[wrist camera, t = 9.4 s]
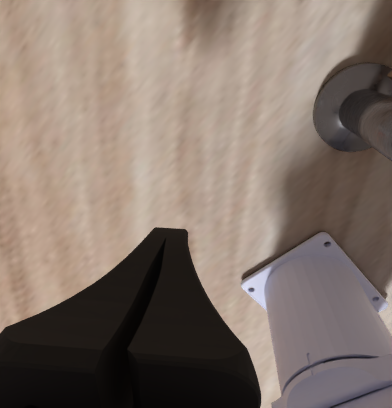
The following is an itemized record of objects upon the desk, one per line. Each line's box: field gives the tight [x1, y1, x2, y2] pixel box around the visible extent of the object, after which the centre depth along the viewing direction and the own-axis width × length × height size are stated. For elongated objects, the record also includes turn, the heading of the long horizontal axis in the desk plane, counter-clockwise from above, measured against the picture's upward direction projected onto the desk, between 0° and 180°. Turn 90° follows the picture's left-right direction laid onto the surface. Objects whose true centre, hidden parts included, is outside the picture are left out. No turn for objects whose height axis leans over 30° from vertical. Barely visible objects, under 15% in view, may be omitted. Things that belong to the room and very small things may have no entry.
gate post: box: [313, 63, 392, 161], centre depth 15 cm, size 5×5×8 cm
